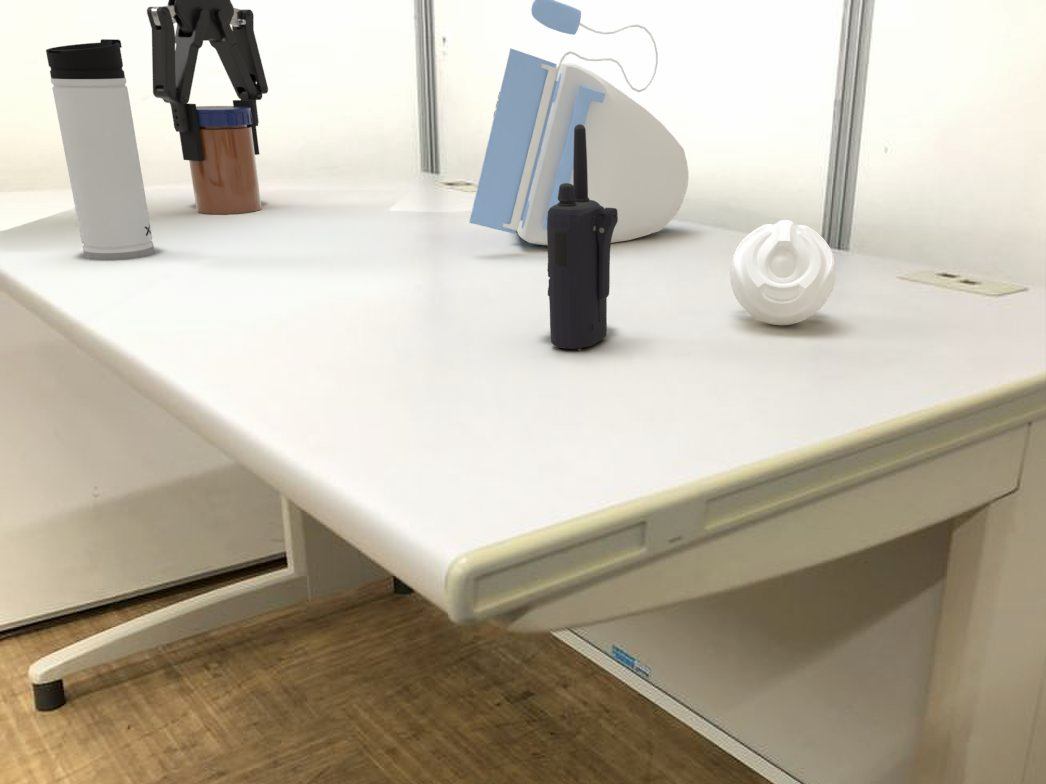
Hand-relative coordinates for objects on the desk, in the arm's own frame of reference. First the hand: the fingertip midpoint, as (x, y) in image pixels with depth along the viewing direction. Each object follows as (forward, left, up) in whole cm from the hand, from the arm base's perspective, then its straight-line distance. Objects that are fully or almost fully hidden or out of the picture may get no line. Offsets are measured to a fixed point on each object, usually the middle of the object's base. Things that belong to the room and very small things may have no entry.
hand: (222, 156), depth 132 cm
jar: (0, 0, -6) cm, 6 cm away
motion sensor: (+61, -59, -7) cm, 85 cm away
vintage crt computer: (+44, -20, -7) cm, 49 cm away
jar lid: (0, 0, +5) cm, 5 cm away
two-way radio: (+46, -65, -7) cm, 80 cm away
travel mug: (0, -33, -7) cm, 34 cm away
